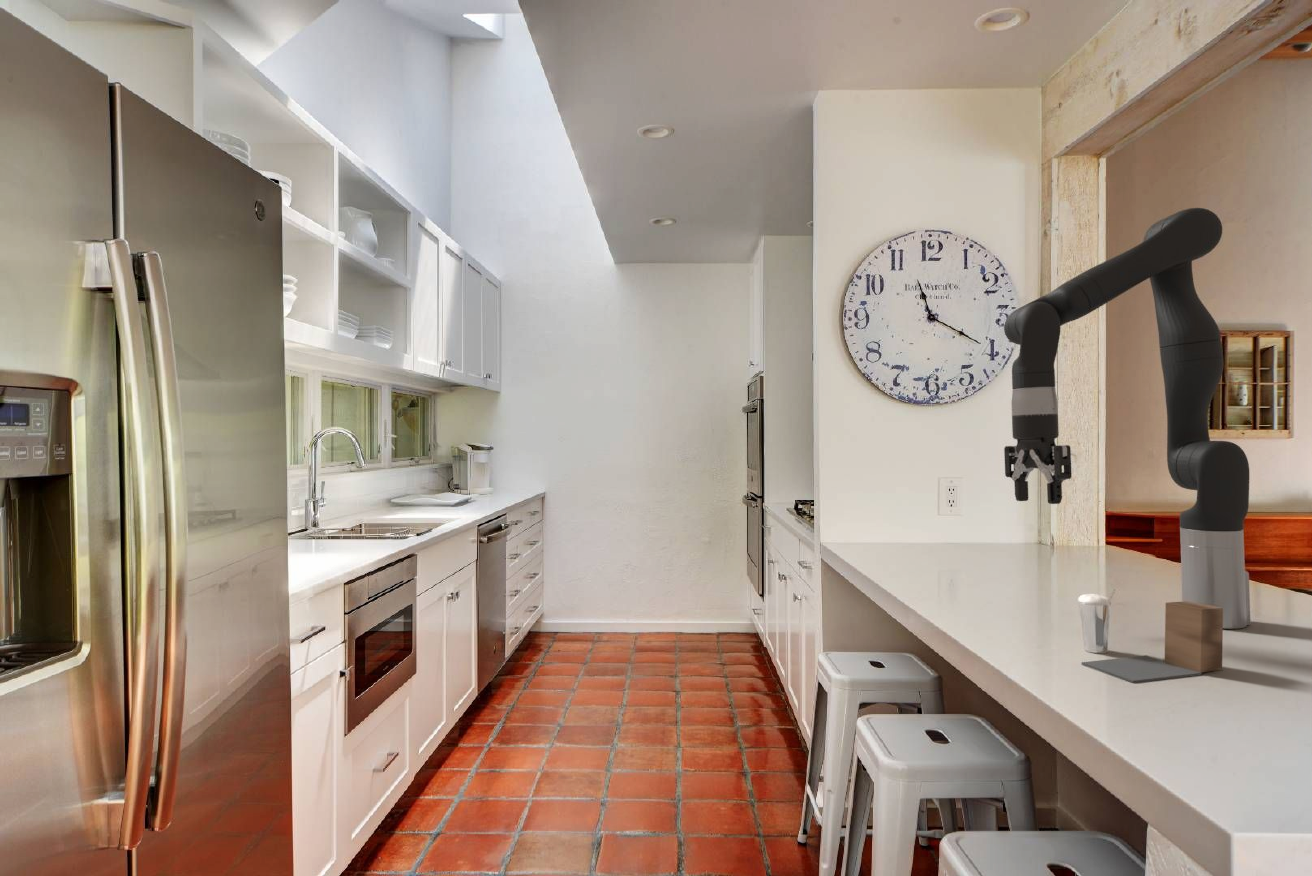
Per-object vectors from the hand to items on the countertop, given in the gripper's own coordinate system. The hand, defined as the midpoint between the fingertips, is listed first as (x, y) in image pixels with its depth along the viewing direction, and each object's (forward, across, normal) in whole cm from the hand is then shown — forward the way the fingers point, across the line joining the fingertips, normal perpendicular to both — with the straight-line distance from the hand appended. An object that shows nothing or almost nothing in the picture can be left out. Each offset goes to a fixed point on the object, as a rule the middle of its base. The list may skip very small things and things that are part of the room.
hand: (1037, 502), depth 133 cm
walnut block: (+23, -27, -3) cm, 35 cm away
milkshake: (+23, -16, +3) cm, 28 cm away
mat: (+23, -25, +5) cm, 34 cm away
